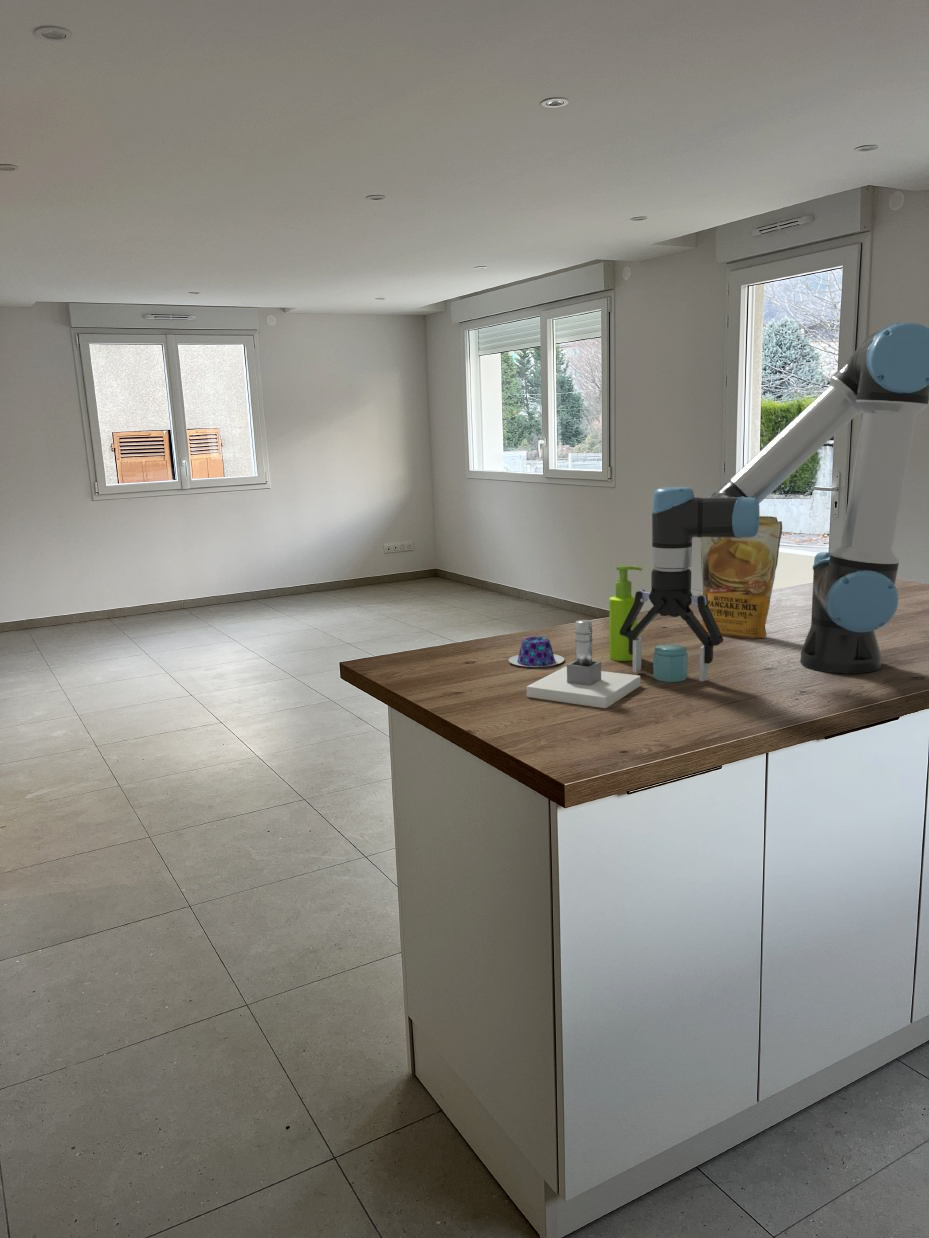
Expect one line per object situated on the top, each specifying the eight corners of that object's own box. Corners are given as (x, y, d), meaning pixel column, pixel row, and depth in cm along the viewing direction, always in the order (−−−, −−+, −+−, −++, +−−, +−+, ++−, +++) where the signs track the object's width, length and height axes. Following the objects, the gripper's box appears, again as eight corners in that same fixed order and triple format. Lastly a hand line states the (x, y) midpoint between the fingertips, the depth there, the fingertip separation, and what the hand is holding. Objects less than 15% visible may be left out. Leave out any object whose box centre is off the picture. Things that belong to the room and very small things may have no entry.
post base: (640, 685, 173) (640, 658, 172) (605, 708, 160) (605, 678, 159) (565, 676, 181) (564, 649, 180) (526, 696, 168) (526, 668, 167)
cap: (690, 675, 179) (690, 646, 177) (679, 683, 174) (680, 653, 172) (661, 672, 182) (661, 643, 181) (649, 679, 177) (649, 649, 176)
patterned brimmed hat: (521, 672, 186) (520, 648, 185) (500, 659, 198) (499, 636, 197) (573, 666, 190) (573, 642, 189) (550, 653, 201) (550, 631, 200)
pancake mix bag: (704, 626, 222) (706, 512, 216) (779, 635, 209) (784, 515, 204) (691, 631, 217) (693, 515, 211) (767, 641, 204) (772, 517, 199)
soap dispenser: (642, 661, 191) (642, 567, 187) (609, 660, 192) (608, 568, 188) (642, 654, 196) (642, 563, 192) (610, 654, 198) (610, 564, 194)
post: (595, 672, 170) (595, 620, 168) (588, 676, 168) (587, 623, 166) (580, 670, 172) (579, 619, 170) (572, 674, 169) (572, 622, 167)
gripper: (742, 569, 170) (738, 677, 174) (618, 562, 183) (618, 663, 187) (730, 575, 164) (726, 687, 168) (603, 567, 177) (603, 671, 181)
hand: (669, 674), depth 178 cm, fingers open, 13 cm apart
